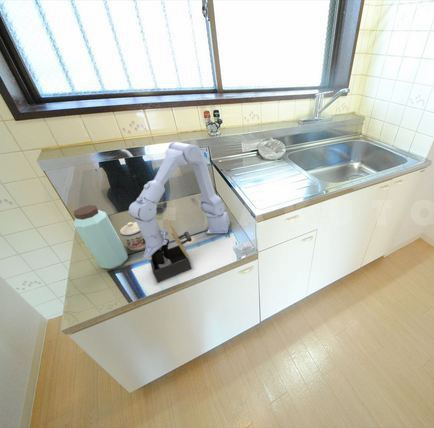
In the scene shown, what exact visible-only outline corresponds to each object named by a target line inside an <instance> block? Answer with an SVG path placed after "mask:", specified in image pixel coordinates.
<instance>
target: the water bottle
mask: <svg viewBox="0 0 434 428" xmlns="http://www.w3.org/2000/svg"><path fill="white" fill-rule="evenodd" d="M73 216H74V217H75V218H74V221H73V227H74V229H75V231H76V232H77V233H78V235H79V236H80V238H81V239H82V241H83V243H84V244H85V246H86V247H87V249H88V250H89V252H90V254H91V255H92V257H93V258H94V259H95V262H96V263H97V264H98V265H99V267H100V268H102V269H107V270H114V269H117V268H119V267H121V266H123V264H124V263H125V262H127V261H128V259H129V255H128V251H127V249H126V248H125V246H124V244H123V242H122V240H121V239H120V237H119V235H118V233H117V230H116V229H115V227H114V226H113V225H114V224H113V223H112V221H111V220H110V218H109V216H108V214H107V212H105V211H102V210H100V209H98V207H97V205H94V204H93V205H91V204H88V205H84V206H81V207H79V208H76V209H75V210H74V211H73Z"/></svg>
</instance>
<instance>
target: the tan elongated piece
mask: <svg viewBox="0 0 434 428" xmlns="http://www.w3.org/2000/svg"><path fill="white" fill-rule="evenodd" d="M164 220H165V223H166V225H167V228H168V230H169V233H170V235H171V236H172V237H173V240H174V241H175V242H176V244H177V245H179V247H180V248H181V250H182V251H183V253H184V254H185V256H186V257H187V258H188V259H189V258H190V256H189V254H188V252H187V249H186V247H185V244H186V243H191V242H192V240H193V239H192V236H191V234H190V233H189V231H184V232H183V234H180V235H179V234H178V233H177V231H176V230H175V229H174V227H173V225H172V224H171V222H170V221H169V219H168V218H165V219H164ZM182 238H186V239H185V240H183V241H182Z"/></svg>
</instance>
